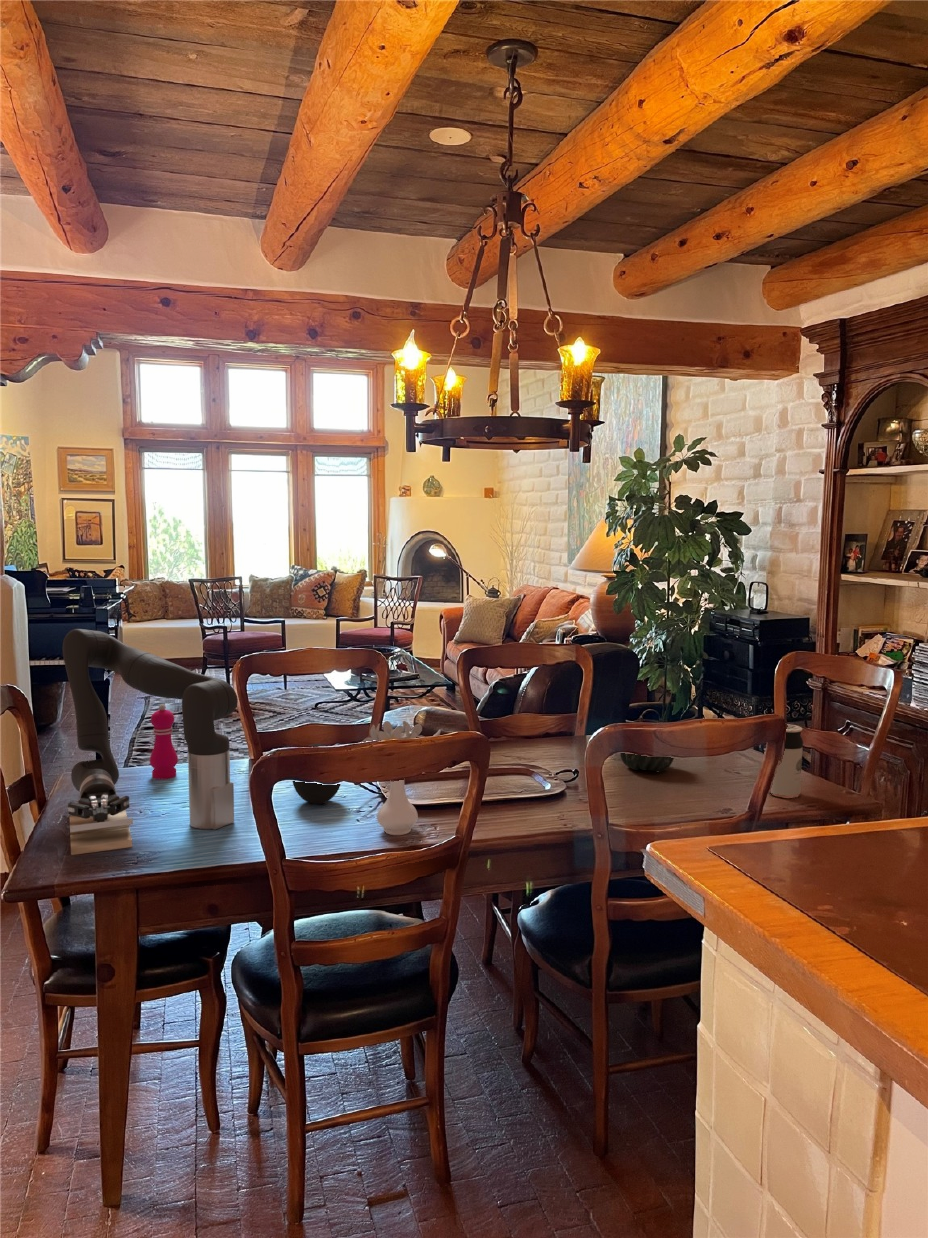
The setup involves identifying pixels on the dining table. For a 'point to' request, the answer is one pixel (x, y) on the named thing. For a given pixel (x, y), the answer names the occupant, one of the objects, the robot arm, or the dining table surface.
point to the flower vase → (396, 785)
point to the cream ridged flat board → (99, 836)
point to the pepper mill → (163, 745)
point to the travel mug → (790, 764)
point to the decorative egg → (315, 790)
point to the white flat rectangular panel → (101, 825)
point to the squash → (646, 761)
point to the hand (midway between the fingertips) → (100, 818)
